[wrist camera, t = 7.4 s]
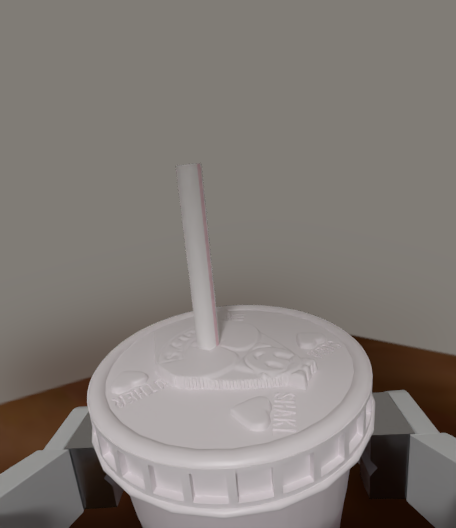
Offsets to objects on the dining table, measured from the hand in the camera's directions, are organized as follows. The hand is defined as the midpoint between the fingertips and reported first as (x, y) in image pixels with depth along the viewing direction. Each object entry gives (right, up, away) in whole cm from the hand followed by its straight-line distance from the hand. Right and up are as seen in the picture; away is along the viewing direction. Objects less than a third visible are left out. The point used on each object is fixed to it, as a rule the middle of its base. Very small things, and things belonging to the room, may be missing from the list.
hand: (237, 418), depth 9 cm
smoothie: (+1, -7, +1) cm, 7 cm away
